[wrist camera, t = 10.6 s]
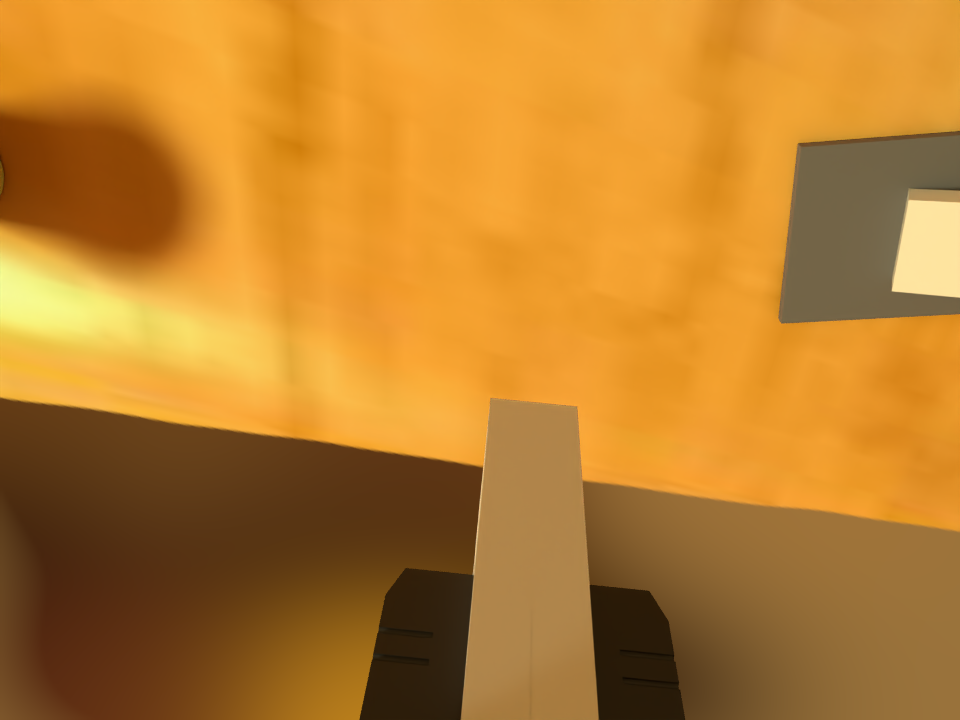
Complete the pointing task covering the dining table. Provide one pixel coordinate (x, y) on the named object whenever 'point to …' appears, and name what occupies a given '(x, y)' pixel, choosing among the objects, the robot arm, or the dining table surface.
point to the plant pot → (1, 178)
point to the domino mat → (859, 225)
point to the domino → (929, 244)
